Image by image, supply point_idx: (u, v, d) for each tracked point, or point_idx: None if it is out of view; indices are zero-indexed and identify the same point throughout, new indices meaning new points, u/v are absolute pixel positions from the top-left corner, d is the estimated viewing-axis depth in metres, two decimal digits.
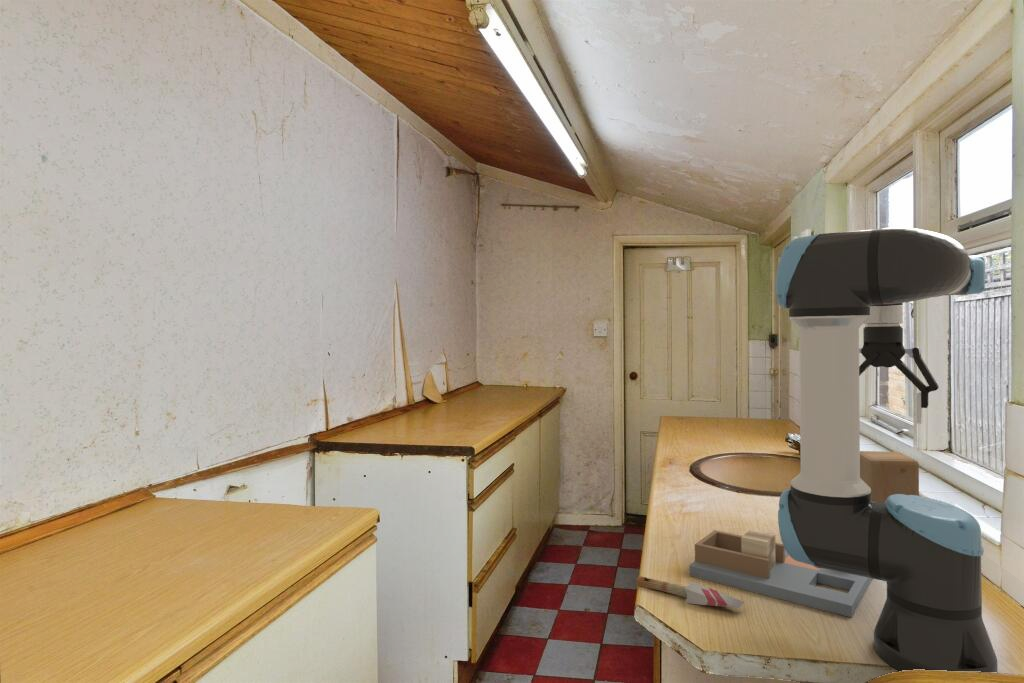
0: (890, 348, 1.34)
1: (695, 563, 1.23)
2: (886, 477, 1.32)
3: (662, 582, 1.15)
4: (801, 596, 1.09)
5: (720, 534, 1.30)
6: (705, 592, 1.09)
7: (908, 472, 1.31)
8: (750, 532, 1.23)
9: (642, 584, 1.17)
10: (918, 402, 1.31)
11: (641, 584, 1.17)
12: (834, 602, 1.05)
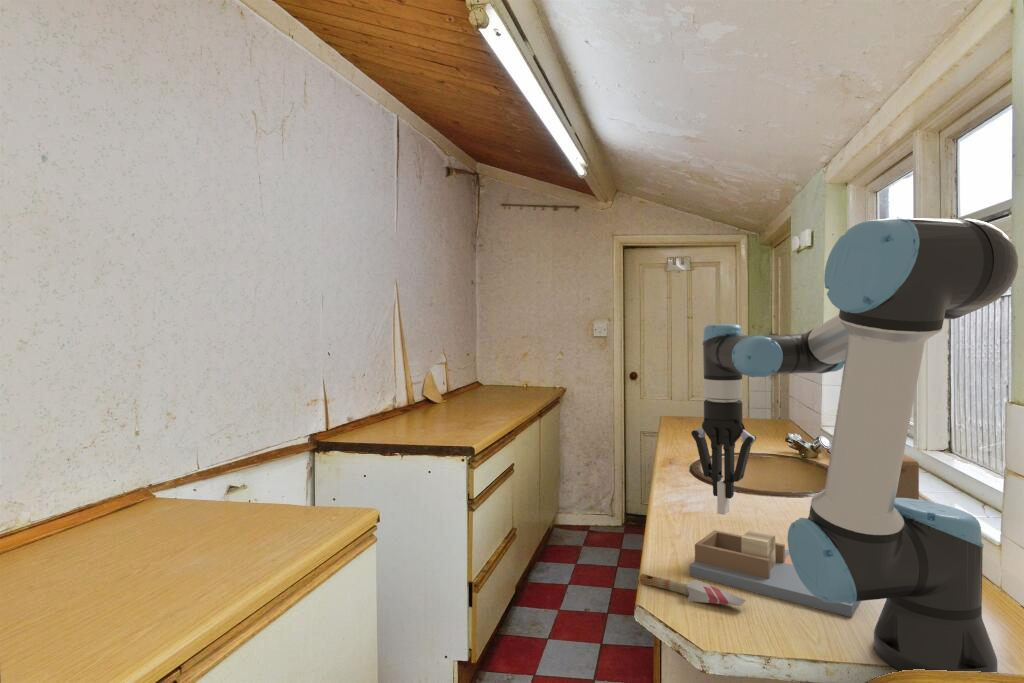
0: (732, 422, 1.22)
1: (695, 563, 1.23)
2: None
3: (665, 580, 1.16)
4: (801, 596, 1.09)
5: (720, 534, 1.30)
6: (707, 590, 1.10)
7: (908, 472, 1.31)
8: (750, 532, 1.23)
9: (645, 582, 1.18)
10: (722, 492, 1.24)
11: (644, 582, 1.18)
12: None
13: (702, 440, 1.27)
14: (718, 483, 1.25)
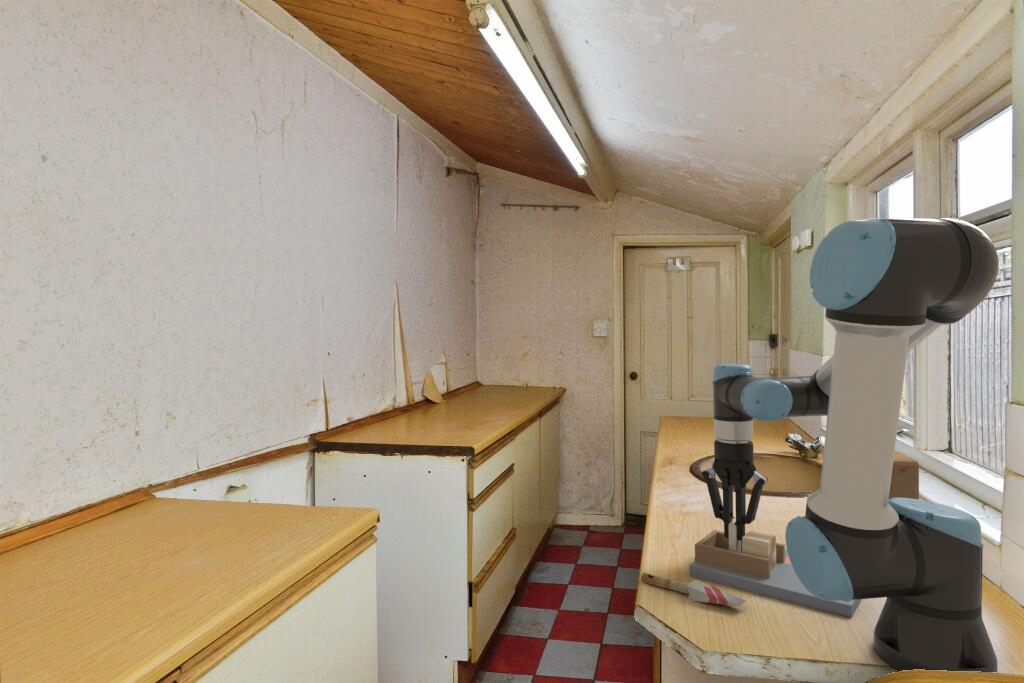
0: (743, 463, 1.21)
1: (695, 563, 1.23)
2: None
3: (665, 579, 1.16)
4: (801, 596, 1.09)
5: (720, 534, 1.30)
6: (707, 590, 1.10)
7: (908, 472, 1.31)
8: (751, 532, 1.23)
9: (646, 581, 1.19)
10: (733, 534, 1.23)
11: (645, 581, 1.19)
12: (834, 602, 1.05)
13: (713, 481, 1.26)
14: (729, 525, 1.23)
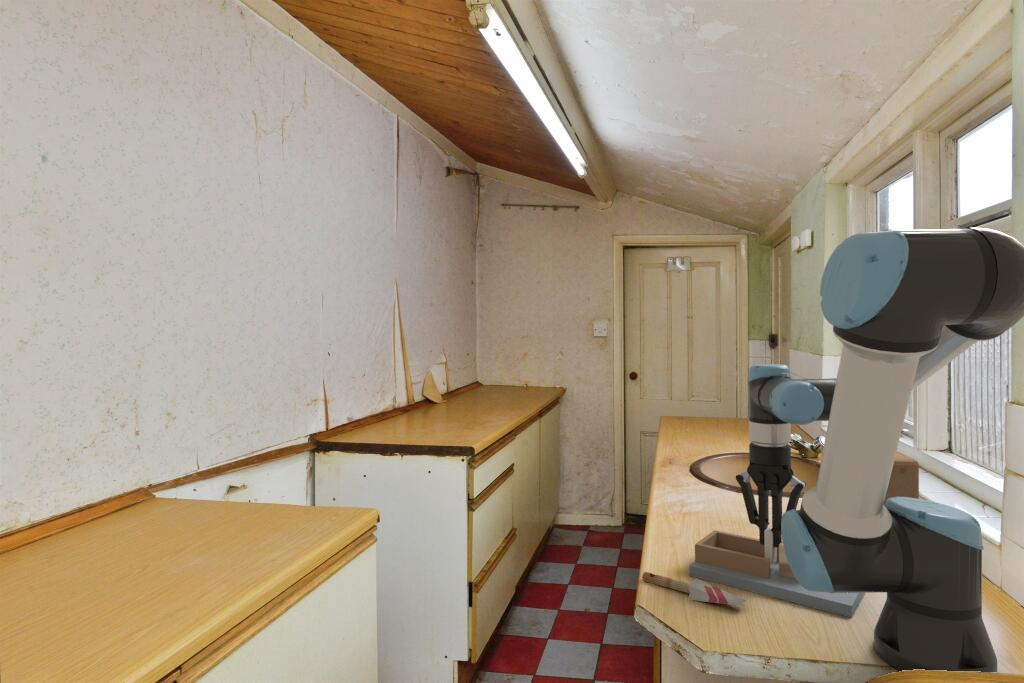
0: (781, 467, 1.17)
1: (695, 563, 1.23)
2: None
3: (667, 578, 1.17)
4: (801, 596, 1.09)
5: (720, 534, 1.30)
6: (707, 589, 1.11)
7: (908, 472, 1.31)
8: None
9: (647, 580, 1.19)
10: (770, 541, 1.18)
11: (646, 580, 1.19)
12: (834, 602, 1.05)
13: (747, 485, 1.21)
14: (765, 531, 1.19)
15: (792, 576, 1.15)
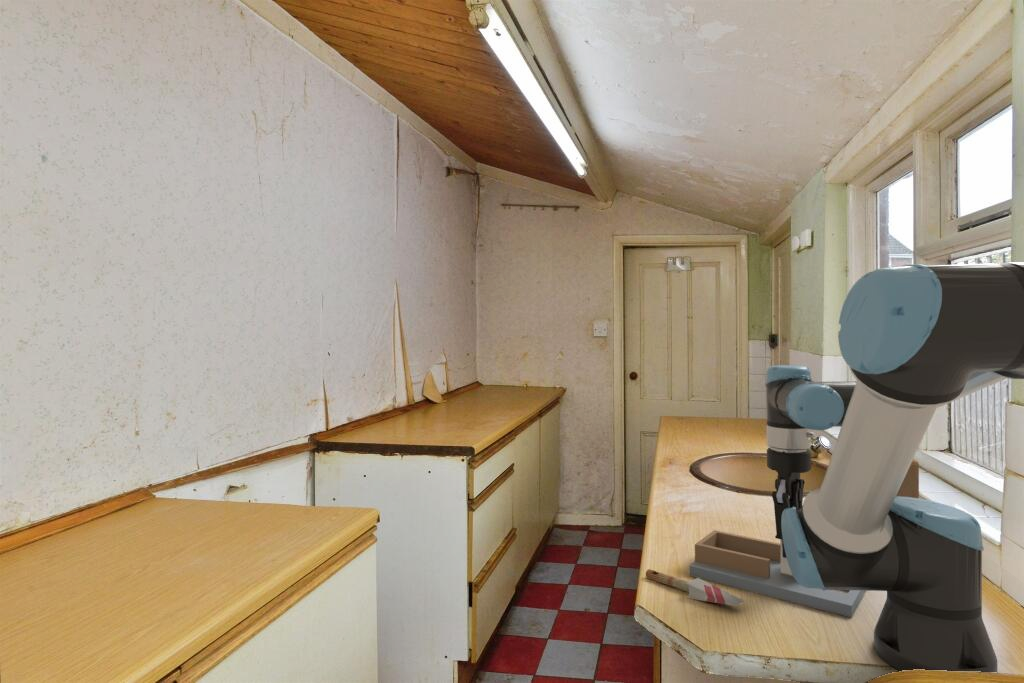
0: None
1: (695, 563, 1.23)
2: None
3: (669, 576, 1.18)
4: (801, 596, 1.09)
5: (720, 534, 1.30)
6: (707, 588, 1.11)
7: (908, 472, 1.31)
8: None
9: (650, 577, 1.20)
10: None
11: (649, 577, 1.20)
12: (834, 602, 1.05)
13: None
14: None
15: None
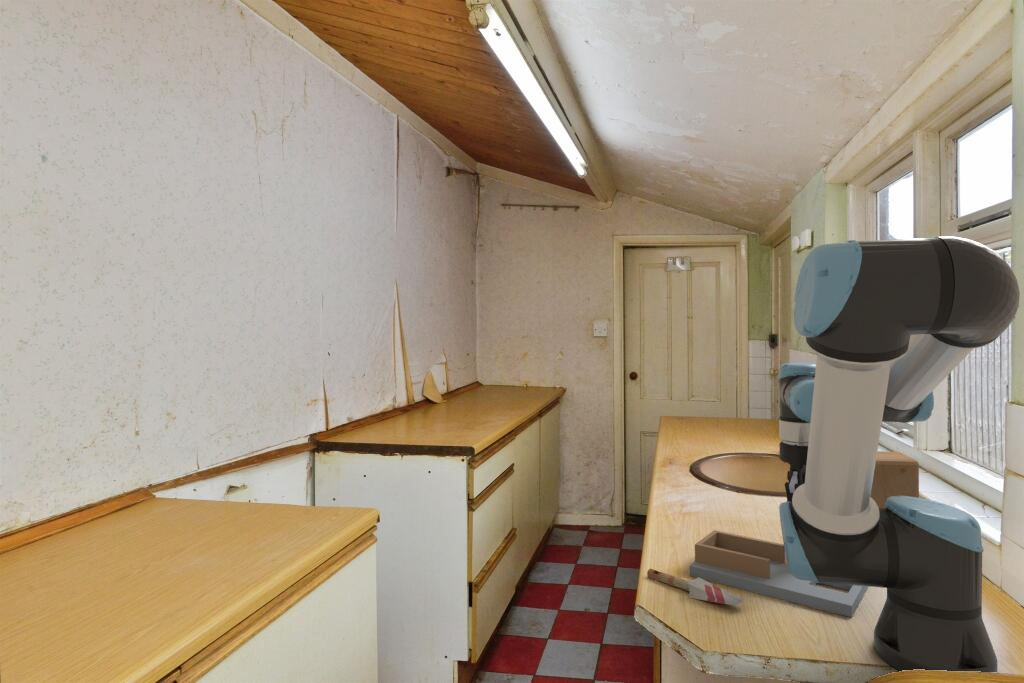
0: None
1: (695, 563, 1.23)
2: (886, 477, 1.32)
3: (670, 576, 1.18)
4: (801, 596, 1.09)
5: (720, 534, 1.30)
6: (707, 588, 1.11)
7: (908, 472, 1.31)
8: None
9: (652, 576, 1.21)
10: None
11: (651, 576, 1.21)
12: (834, 602, 1.05)
13: None
14: None
15: None
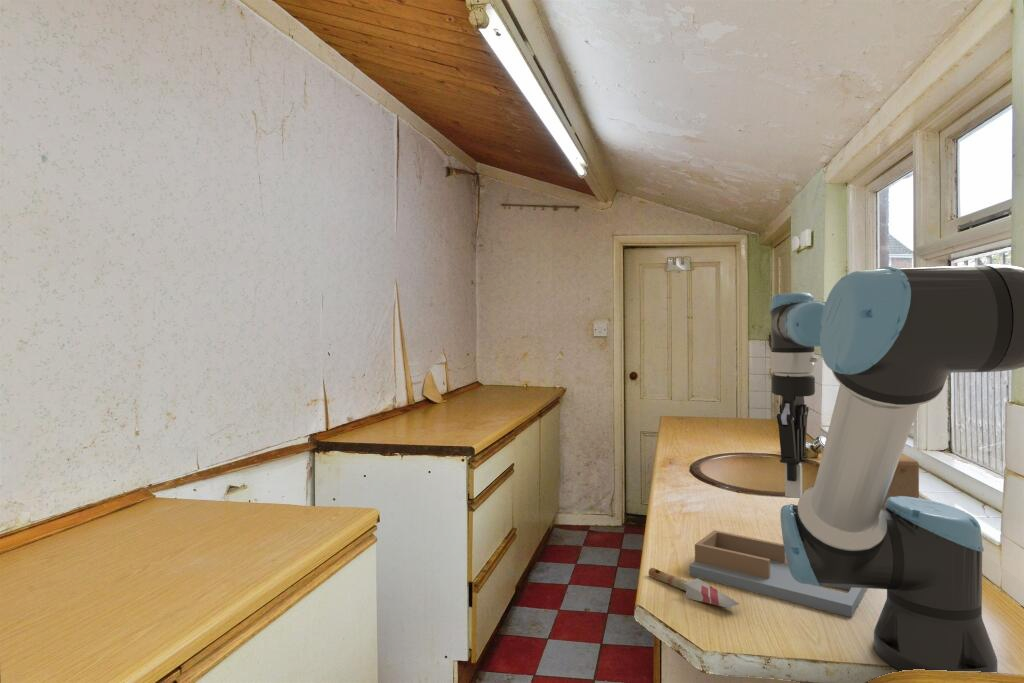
0: None
1: (695, 563, 1.23)
2: None
3: (669, 575, 1.18)
4: (801, 596, 1.09)
5: (720, 534, 1.30)
6: (703, 589, 1.11)
7: (908, 472, 1.31)
8: None
9: (653, 575, 1.21)
10: None
11: (652, 575, 1.21)
12: (834, 602, 1.05)
13: None
14: None
15: None
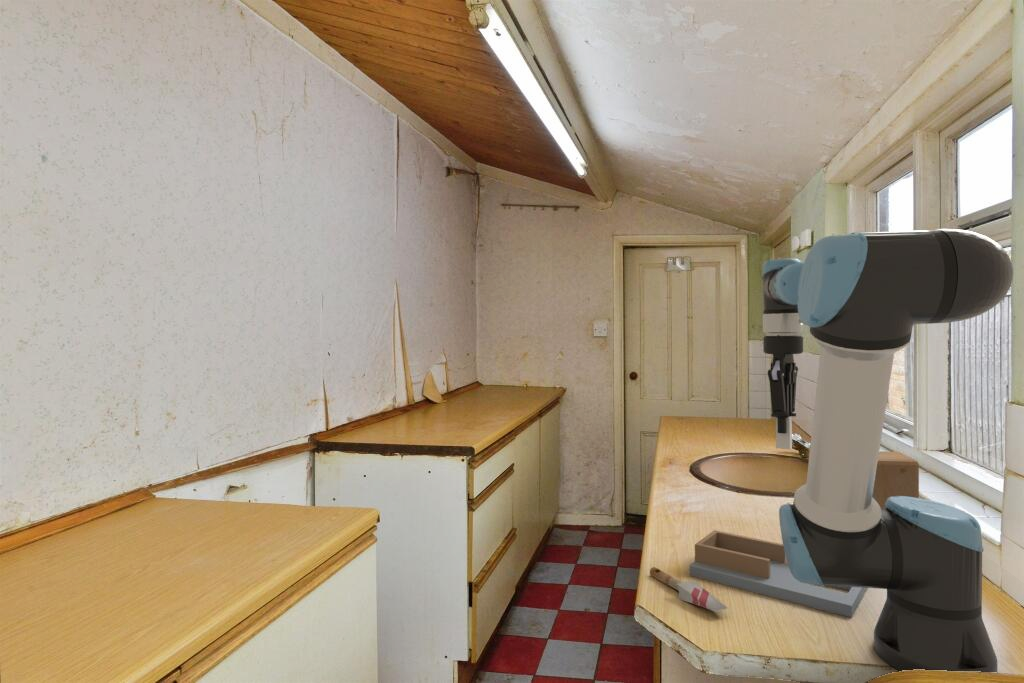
0: None
1: (695, 563, 1.23)
2: (886, 477, 1.32)
3: (667, 576, 1.18)
4: (801, 596, 1.09)
5: (720, 534, 1.30)
6: (695, 591, 1.10)
7: (908, 472, 1.31)
8: None
9: (653, 575, 1.21)
10: None
11: (652, 574, 1.22)
12: (834, 602, 1.05)
13: None
14: None
15: None
